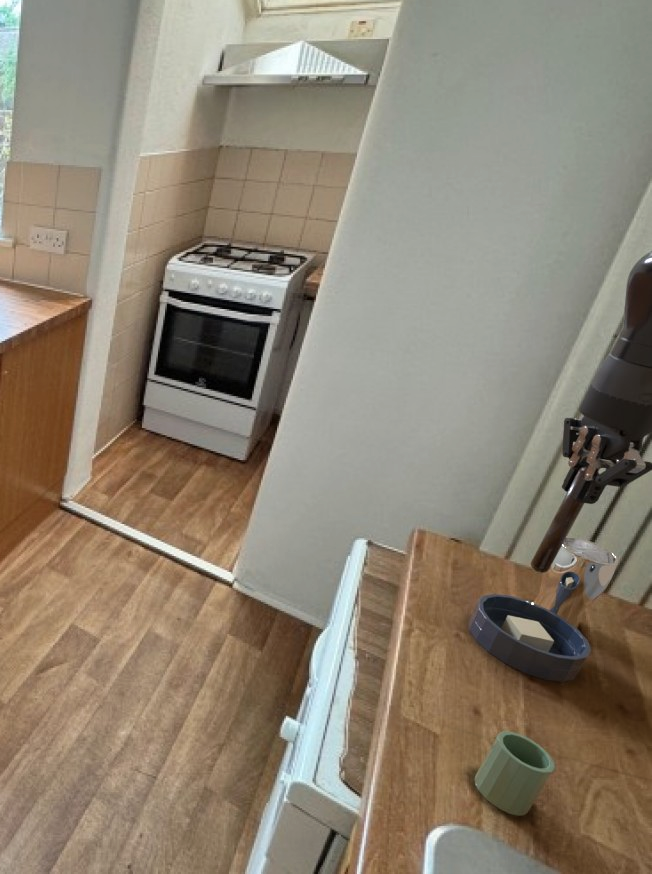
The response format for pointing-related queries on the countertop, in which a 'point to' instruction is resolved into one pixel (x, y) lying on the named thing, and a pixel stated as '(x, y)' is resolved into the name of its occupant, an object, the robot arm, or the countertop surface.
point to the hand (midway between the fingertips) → (577, 495)
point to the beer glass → (576, 578)
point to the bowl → (521, 656)
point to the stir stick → (559, 527)
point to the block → (528, 632)
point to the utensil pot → (514, 773)
